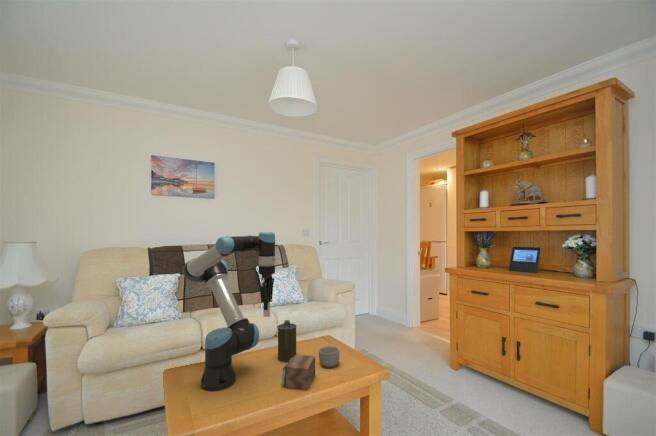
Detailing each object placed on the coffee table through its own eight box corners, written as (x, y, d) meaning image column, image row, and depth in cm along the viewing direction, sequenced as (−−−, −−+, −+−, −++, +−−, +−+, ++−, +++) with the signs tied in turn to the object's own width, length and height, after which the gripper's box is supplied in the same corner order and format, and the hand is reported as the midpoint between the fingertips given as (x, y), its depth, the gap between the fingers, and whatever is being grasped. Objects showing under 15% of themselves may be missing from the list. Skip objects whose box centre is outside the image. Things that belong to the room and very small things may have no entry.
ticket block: (285, 387, 141) (285, 366, 141) (295, 373, 155) (295, 354, 155) (307, 390, 139) (307, 368, 139) (315, 375, 153) (315, 356, 153)
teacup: (337, 370, 158) (337, 354, 158) (316, 368, 160) (316, 352, 160) (341, 359, 172) (341, 344, 172) (322, 357, 174) (322, 342, 174)
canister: (278, 354, 178) (277, 318, 178) (296, 354, 179) (296, 318, 179) (276, 363, 167) (276, 324, 167) (296, 362, 168) (296, 324, 169)
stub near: (283, 384, 142) (281, 384, 142) (287, 379, 147) (284, 379, 147) (285, 369, 142) (282, 368, 142) (289, 364, 147) (286, 363, 147)
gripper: (269, 267, 140) (269, 321, 139) (279, 263, 153) (279, 313, 152) (253, 266, 141) (253, 320, 141) (264, 263, 154) (264, 312, 154)
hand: (266, 316), depth 146 cm, fingers closed
